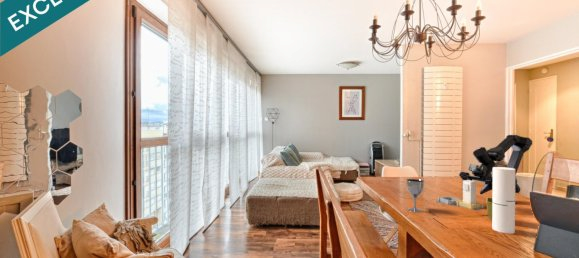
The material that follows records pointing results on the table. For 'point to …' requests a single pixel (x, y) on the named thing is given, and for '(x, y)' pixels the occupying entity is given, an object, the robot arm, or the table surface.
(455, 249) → the table surface
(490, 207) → the flower pot
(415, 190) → the wine glass
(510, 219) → the cylindrical container
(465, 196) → the plug
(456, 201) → the port console
